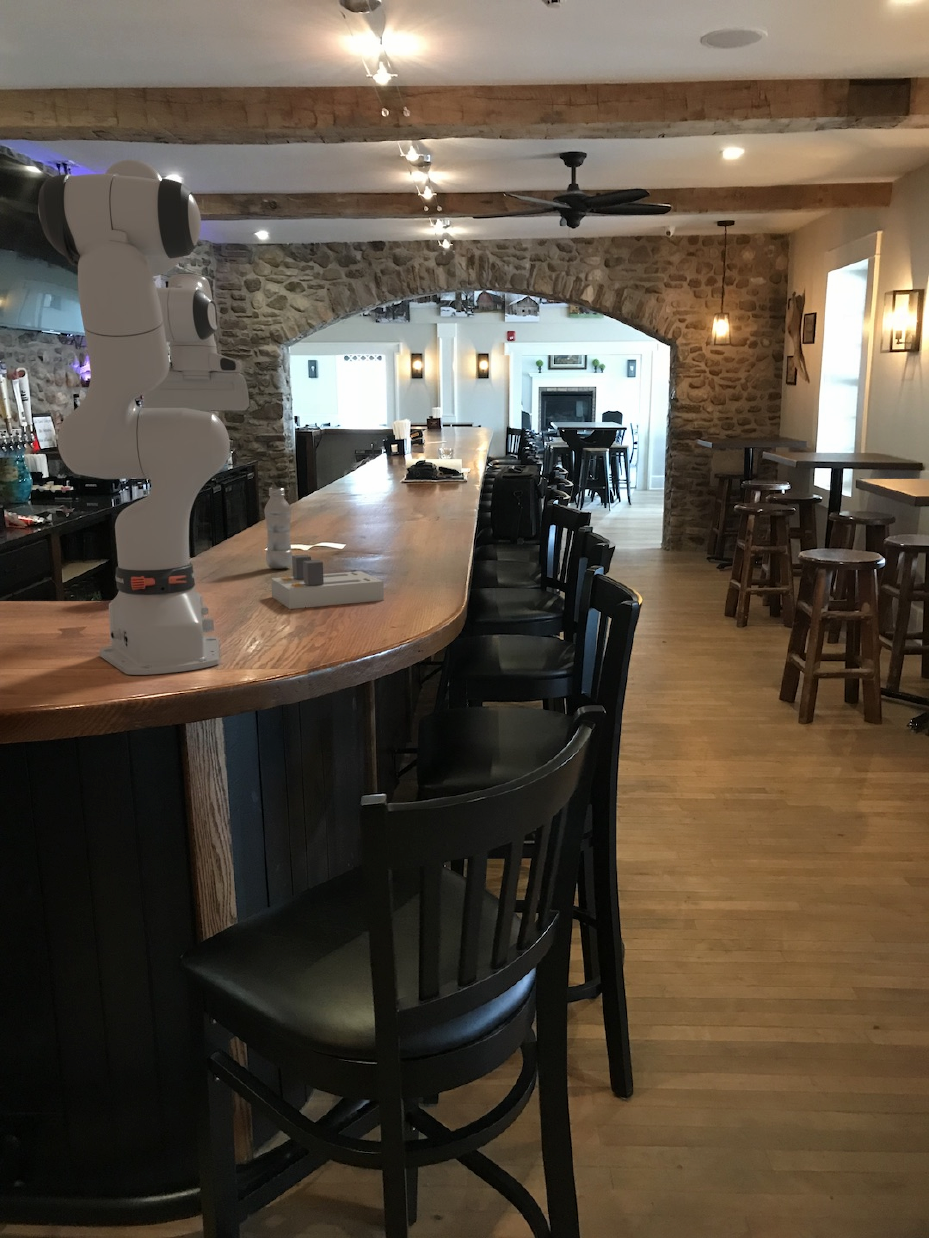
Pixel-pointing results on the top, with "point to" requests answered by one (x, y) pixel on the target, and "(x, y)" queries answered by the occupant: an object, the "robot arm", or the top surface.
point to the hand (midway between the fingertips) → (198, 434)
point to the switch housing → (328, 590)
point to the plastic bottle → (278, 530)
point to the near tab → (313, 572)
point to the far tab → (299, 565)
